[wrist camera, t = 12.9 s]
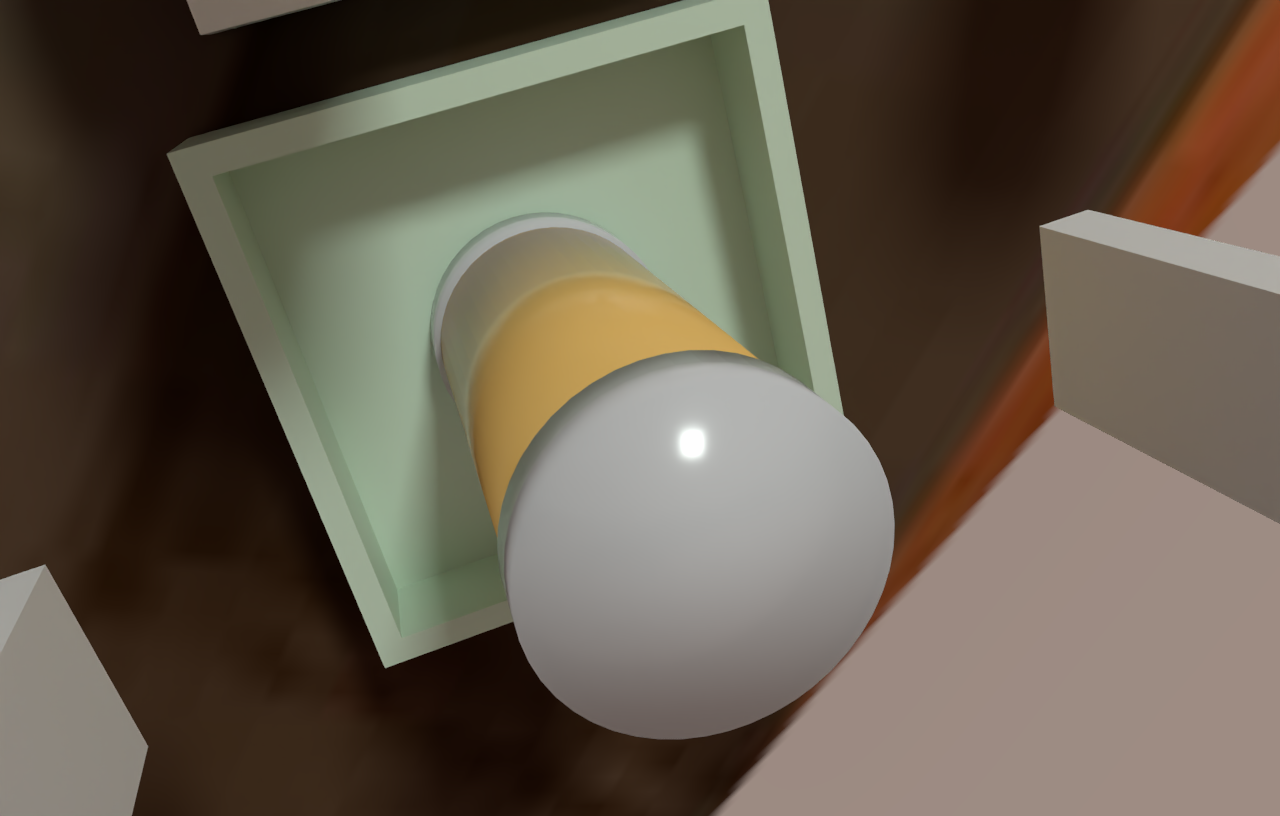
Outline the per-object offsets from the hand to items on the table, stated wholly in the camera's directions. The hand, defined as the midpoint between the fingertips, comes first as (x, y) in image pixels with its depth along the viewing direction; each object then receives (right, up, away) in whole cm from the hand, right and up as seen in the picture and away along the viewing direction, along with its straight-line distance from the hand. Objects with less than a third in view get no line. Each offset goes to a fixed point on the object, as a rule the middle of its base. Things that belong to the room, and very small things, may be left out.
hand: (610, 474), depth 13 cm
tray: (-2, +3, +8) cm, 8 cm away
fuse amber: (-1, +2, +7) cm, 8 cm away
